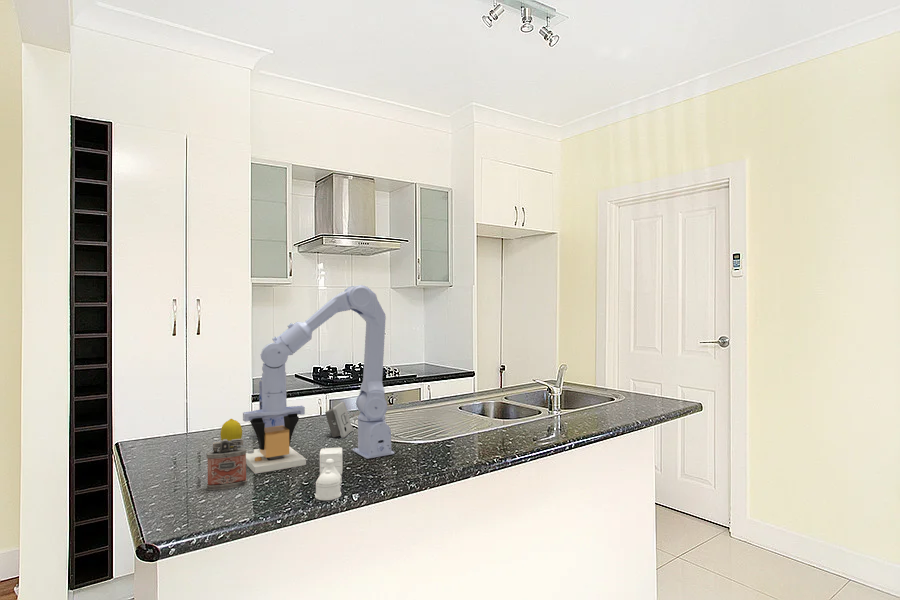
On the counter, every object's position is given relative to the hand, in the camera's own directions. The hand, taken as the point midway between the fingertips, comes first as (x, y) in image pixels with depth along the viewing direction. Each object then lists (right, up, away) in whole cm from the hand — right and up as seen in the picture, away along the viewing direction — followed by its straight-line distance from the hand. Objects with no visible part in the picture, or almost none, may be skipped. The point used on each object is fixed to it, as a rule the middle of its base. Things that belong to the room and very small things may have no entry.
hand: (274, 446), depth 133 cm
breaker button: (0, -4, 0) cm, 4 cm away
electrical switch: (+10, -4, +29) cm, 31 cm away
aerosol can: (-10, -5, +28) cm, 30 cm away
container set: (+17, -4, -15) cm, 23 cm away
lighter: (-5, -4, -16) cm, 17 cm away
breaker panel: (-1, -4, +2) cm, 5 cm away
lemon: (-17, -5, +15) cm, 23 cm away
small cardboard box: (0, -2, 0) cm, 2 cm away
